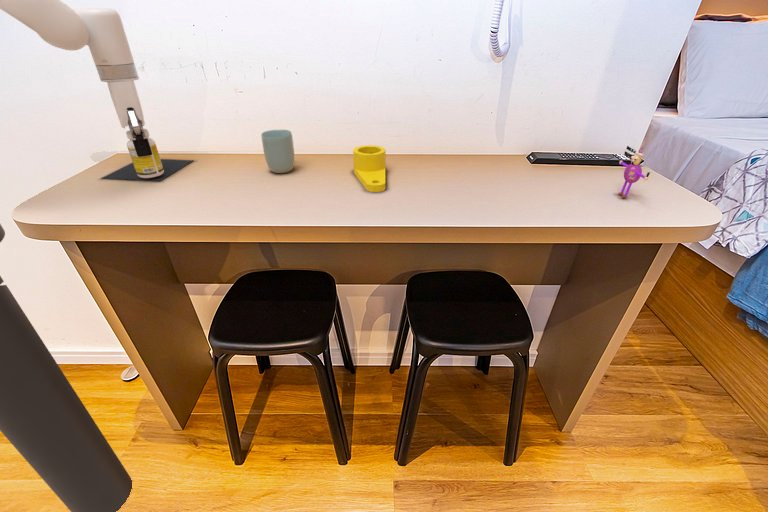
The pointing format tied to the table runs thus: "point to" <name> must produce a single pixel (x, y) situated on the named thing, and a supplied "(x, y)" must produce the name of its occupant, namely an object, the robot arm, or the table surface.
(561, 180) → the table surface
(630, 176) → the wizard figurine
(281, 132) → the cup
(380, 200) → the table surface
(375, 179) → the crank
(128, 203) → the table surface
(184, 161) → the mat
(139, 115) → the robot arm
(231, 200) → the table surface
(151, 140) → the pill bottle
